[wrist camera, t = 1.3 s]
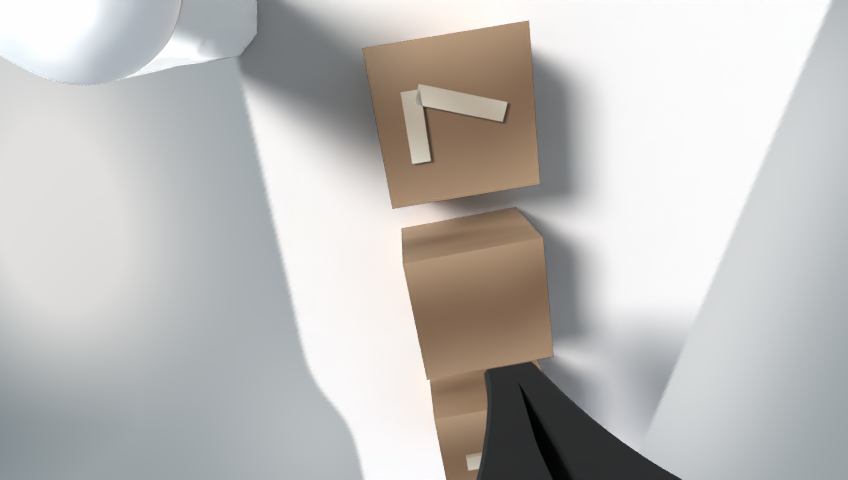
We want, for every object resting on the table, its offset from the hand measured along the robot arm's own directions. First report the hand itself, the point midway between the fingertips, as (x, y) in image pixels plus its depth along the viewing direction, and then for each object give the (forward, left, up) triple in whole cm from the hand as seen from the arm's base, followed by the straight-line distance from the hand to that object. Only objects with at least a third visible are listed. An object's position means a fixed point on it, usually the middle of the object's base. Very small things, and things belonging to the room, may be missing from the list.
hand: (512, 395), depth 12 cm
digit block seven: (+7, 0, -9) cm, 11 cm away
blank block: (0, 0, -9) cm, 9 cm away
